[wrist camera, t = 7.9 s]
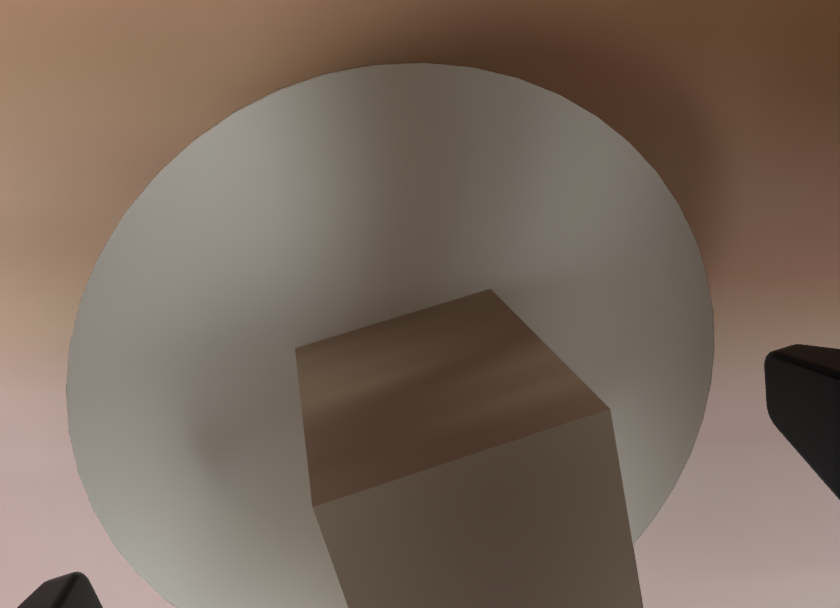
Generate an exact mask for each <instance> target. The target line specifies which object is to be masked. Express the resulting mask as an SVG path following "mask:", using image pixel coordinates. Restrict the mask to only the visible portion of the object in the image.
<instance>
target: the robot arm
mask: <svg viewBox="0 0 840 608" xmlns="http://www.w3.org/2000/svg"><path fill="white" fill-rule="evenodd" d="M764 369H765V385H766V402H767V410H768V413H769V416H770V418H771V420H772V422H773V423H774V425H775V426H776V427H777V429H778V430H779V431H780V432H781V433H782V434H783V435H784V437H785V438H786V439H787V440H788V441H789V442H790V443H791V445H792V446H793V447H794V448H795V449H796V450H797V452H798V453H799V454H800V455H801V456H802V457H803V458H804V460H805V461H806V462H807V463H808V464H809V465H810V467H811V468H812V469H813V470H814V471H815V472H816V473H817V475H818V476H819V477H820V478H821V479H822V480H823V481H824V483H825V484H826V485H827V486H828V487H829V488H830V490H831V491H832V492H833V493H834V494H835V495H836V496H837V497H838V499H839V500H840V349H834V348H826V347H818V346H810V345H802V344H796V345H791V346H788V347H784V348H781V349H778V350H775V351H772V352H770V353H769V354H768V355H767V356H766V359H765V363H764ZM17 608H103V607H102V605H101V603H100V601H99V599H98V597H97V595H96V593H95V591H94V589H93V587H92V585H91V583H90V581H89V579H88V578H87V577H86V576H85V575H84V574H83V573H81V572H73V573H70V574H66V575H63V576H60V577H57V578H54V579H51V580H48V581H46V582H44V583H43V584H42V585H41V586H39V587H38V588H37V589H36V590H35V591H34V592H33V593H32V594H31V595H30V596H29V597H28V598H27V599H26V600H25V601H24V602H23V603H21V604H20V605H19V606H18V607H17Z"/></svg>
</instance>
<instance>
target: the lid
mask: <svg viewBox="0 0 840 608" xmlns="http://www.w3.org/2000/svg"><path fill="white" fill-rule="evenodd" d="M713 356H714V324H713V308H712V302H711V296H710V290H709V284H708V278H707V274H706V270H705V267H704V264H703V261H702V258H701V255H700V252H699V248H698V245H697V242H696V239H695V237H694V235H693V233H692V231H691V229H690V227H689V225H688V222H687V220H686V218H685V216H684V214H683V212H682V210H681V208H680V206H679V204H678V203H677V201H676V200H675V198H674V197H673V195H672V194H671V192H670V191H669V189H668V188H667V186H666V185H665V184H664V182H663V181H662V179H661V178H660V176H659V175H658V173H657V172H656V171H655V170H654V169H653V168H652V166H651V165H650V164H649V163H648V162H647V161H646V160H645V159H644V158H643V157H642V156H641V155H640V153H639V152H638V151H637V150H636V149H635V148H634V147H633V146H632V145H631V144H630V143H629V142H628V141H627V140H626V139H624V138H623V137H622V136H621V135H619V134H618V133H617V132H616V131H614V130H613V129H612V128H611V127H609V126H608V125H607V124H606V123H604V122H603V121H602V120H601V119H599V118H598V117H597V116H595V115H594V114H592V113H590V112H588V111H587V110H585V109H583V108H581V107H580V106H578V105H576V104H575V103H573V102H571V101H569V100H568V99H566V98H564V97H563V96H561V95H559V94H556V93H554V92H551V91H549V90H546V89H544V88H541V87H539V86H536V85H534V84H531V83H529V82H526V81H524V80H521V79H519V78H515V77H511V76H507V75H503V74H498V73H494V72H490V71H486V70H482V69H478V68H473V67H463V66H452V65H441V64H430V63H405V64H385V65H369V66H363V67H358V68H353V69H348V70H343V71H337V72H332V73H327V74H322V75H320V76H317V77H314V78H311V79H308V80H305V81H302V82H299V83H296V84H293V85H290V86H287V87H284V88H281V89H278V90H276V91H274V92H272V93H270V94H268V95H266V96H264V97H262V98H260V99H258V100H256V101H254V102H252V103H250V104H248V105H246V106H244V107H242V108H240V109H239V110H237V111H235V112H233V113H232V114H230V115H229V116H227V117H226V118H225V119H223V120H222V121H220V122H219V123H217V124H216V125H214V126H213V127H212V128H210V129H209V130H207V131H206V132H204V133H203V134H201V135H200V136H199V137H197V138H196V139H195V140H193V141H192V142H191V143H190V144H189V145H188V146H187V147H186V148H185V149H184V150H183V151H182V152H180V153H179V154H178V155H177V156H176V157H175V158H174V159H173V160H172V161H171V162H170V163H169V164H167V165H166V166H165V167H164V168H163V169H162V170H161V171H160V172H159V173H158V174H157V175H156V176H155V177H154V179H153V180H152V181H151V182H150V183H149V185H148V186H147V187H146V188H145V190H144V191H143V192H142V193H141V195H140V196H139V197H138V198H137V199H136V201H135V202H134V203H133V204H132V206H131V207H130V208H129V209H128V211H127V212H126V213H125V214H124V215H123V217H122V219H121V220H120V222H119V224H118V225H117V227H116V229H115V230H114V232H113V234H112V235H111V237H110V239H109V240H108V242H107V244H106V245H105V247H104V249H103V250H102V252H101V254H100V255H99V257H98V259H97V262H96V264H95V267H94V269H93V272H92V274H91V277H90V279H89V281H88V284H87V286H86V289H85V291H84V294H83V296H82V298H81V301H80V305H79V309H78V313H77V317H76V321H75V326H74V330H73V334H72V338H71V342H70V348H69V360H68V371H67V383H66V396H67V410H68V425H69V434H70V438H71V443H72V447H73V451H74V456H75V460H76V464H77V469H78V473H79V475H80V478H81V480H82V483H83V485H84V488H85V490H86V493H87V495H88V498H89V500H90V503H91V505H92V508H93V510H94V512H95V513H96V515H97V517H98V518H99V520H100V522H101V524H102V525H103V527H104V529H105V530H106V532H107V534H108V535H109V537H110V539H111V541H112V542H113V544H114V545H115V546H116V548H117V549H118V550H119V551H120V553H121V554H122V555H123V556H124V558H125V559H126V560H127V561H128V562H129V564H130V565H131V566H132V567H133V569H134V570H135V571H136V572H137V574H138V575H139V576H140V577H142V578H143V579H144V580H145V581H146V582H147V583H148V584H149V585H150V586H151V587H152V588H153V589H154V590H156V591H157V592H158V593H159V594H160V595H161V596H162V597H163V598H164V599H165V600H166V601H168V602H169V603H171V604H172V605H174V606H175V607H176V608H643V603H642V597H641V591H640V585H639V579H638V573H637V567H636V561H635V555H634V549H633V544H634V543H635V542H636V540H637V539H638V538H639V537H640V535H641V534H642V533H643V532H644V530H645V529H646V528H647V526H648V525H649V524H650V523H651V521H652V520H653V519H654V518H655V516H656V515H657V513H658V512H659V510H660V509H661V507H662V505H663V504H664V502H665V501H666V499H667V498H668V496H669V494H670V493H671V491H672V490H673V488H674V486H675V485H676V483H677V481H678V479H679V477H680V475H681V472H682V470H683V468H684V466H685V464H686V462H687V460H688V458H689V456H690V454H691V452H692V449H693V446H694V443H695V440H696V437H697V435H698V432H699V429H700V426H701V423H702V420H703V417H704V412H705V408H706V403H707V399H708V394H709V390H710V385H711V377H712V367H713Z"/></svg>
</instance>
